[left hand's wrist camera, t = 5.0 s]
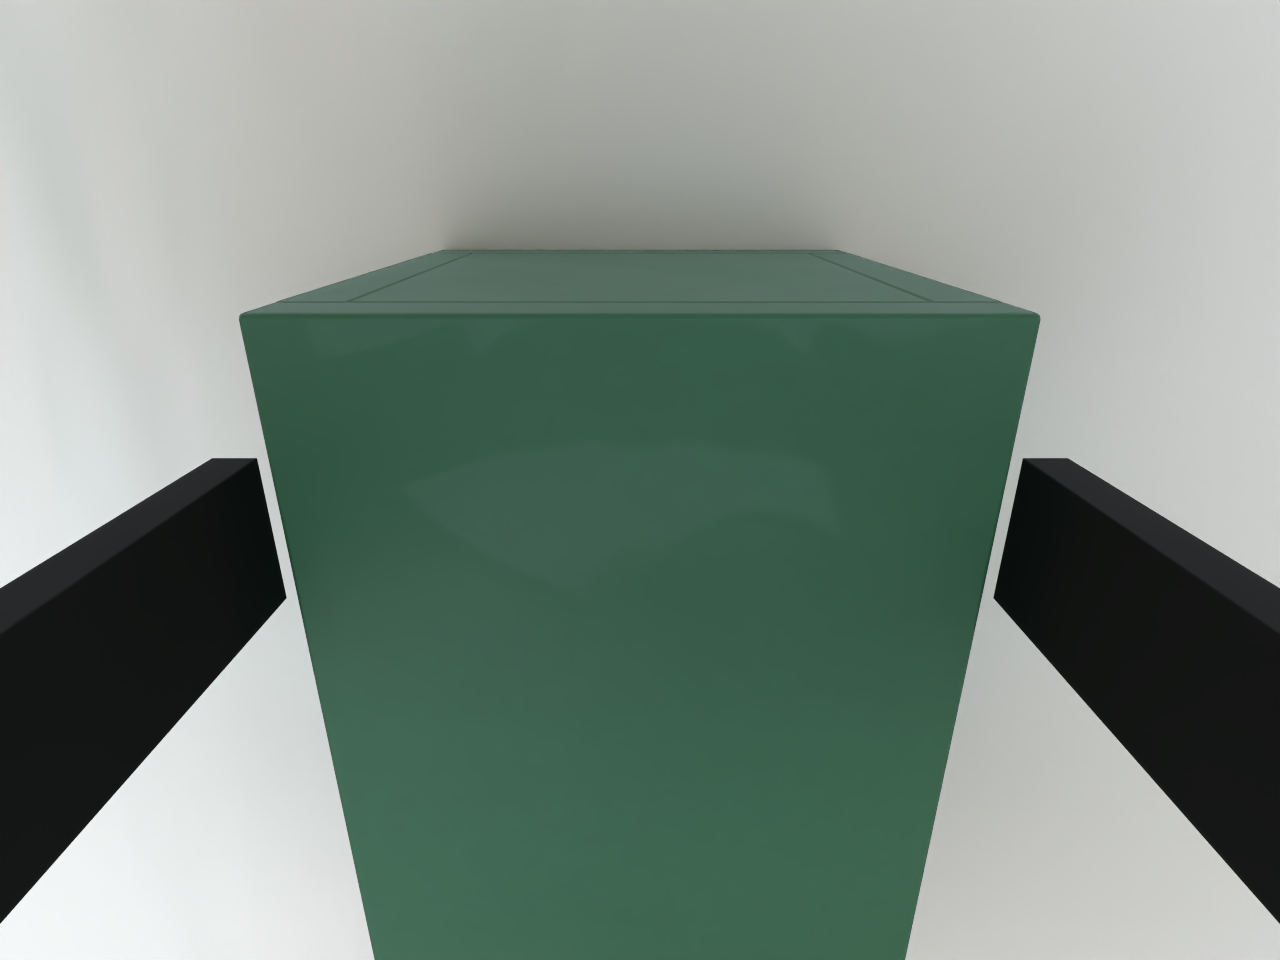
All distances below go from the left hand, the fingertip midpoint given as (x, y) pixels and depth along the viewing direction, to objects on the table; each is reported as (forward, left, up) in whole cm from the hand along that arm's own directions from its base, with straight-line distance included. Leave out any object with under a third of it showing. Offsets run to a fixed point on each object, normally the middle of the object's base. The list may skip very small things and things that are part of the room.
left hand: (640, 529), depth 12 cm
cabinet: (+5, -3, -8) cm, 10 cm away
